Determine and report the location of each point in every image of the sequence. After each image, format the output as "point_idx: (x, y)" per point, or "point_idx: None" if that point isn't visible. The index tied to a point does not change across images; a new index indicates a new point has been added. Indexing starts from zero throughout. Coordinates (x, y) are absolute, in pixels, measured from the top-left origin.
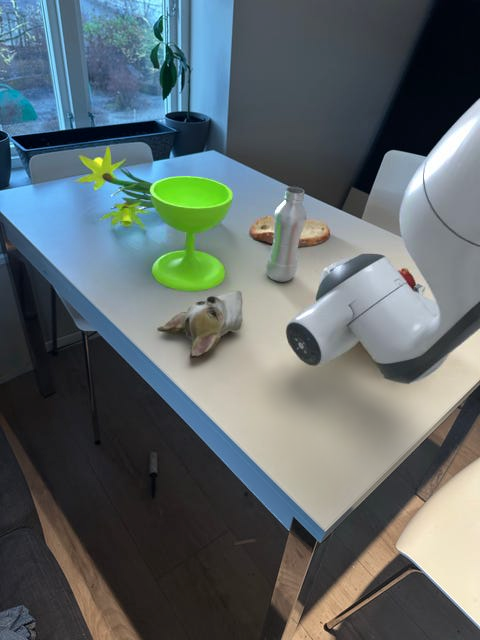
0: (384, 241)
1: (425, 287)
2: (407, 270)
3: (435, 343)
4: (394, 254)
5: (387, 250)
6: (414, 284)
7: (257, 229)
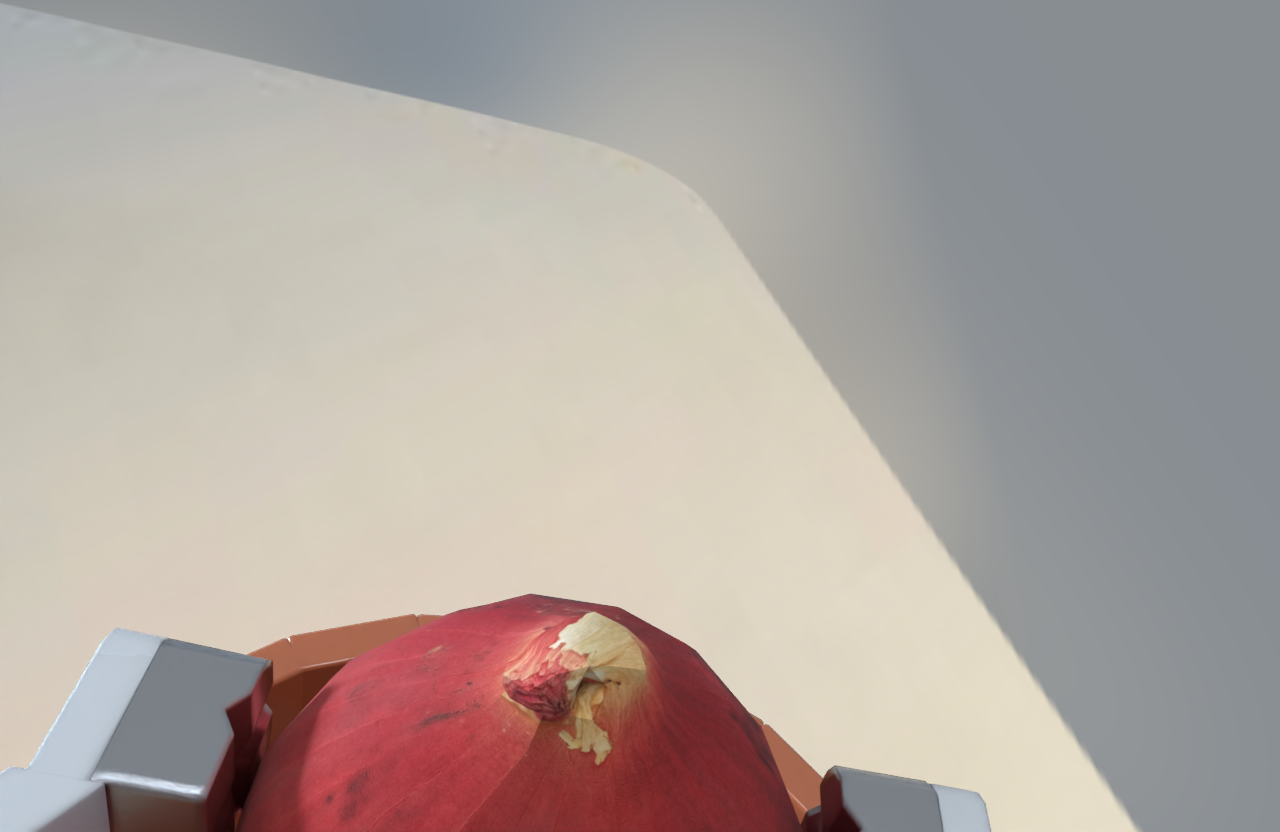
0: (94, 82)
1: (980, 799)
2: (644, 676)
3: None
4: (197, 162)
5: (137, 144)
6: (790, 809)
7: None
